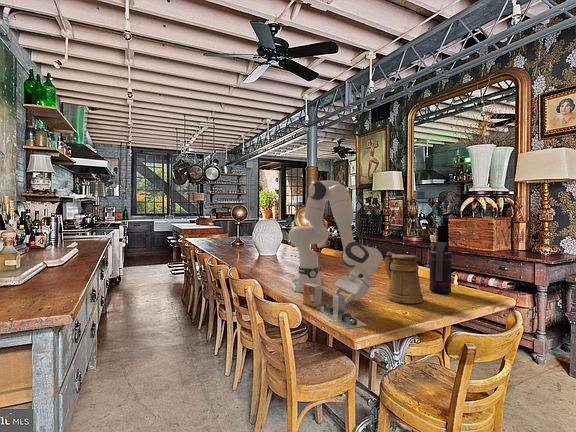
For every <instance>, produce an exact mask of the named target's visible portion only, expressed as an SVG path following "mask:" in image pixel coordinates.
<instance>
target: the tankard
mask: <svg viewBox="0 0 576 432" xmlns="http://www.w3.org/2000/svg"><path fill="white" fill-rule="evenodd" d="M417 259H418V257H417V255H413V254H411V255H410V254H409V255H408V254H398V253H393V252H391V251H387V253H386V255H385V258H384V269H385V271H386V274H387V276H388V278H389V287H388V289H387V291H386V292H387V294H386V295H387V296H386V298H387V299H388V300H389V301H392V302H394V303H399V304H400V303H401V304H421V303H422V302H424V296H423V293H422V290H421V289H422V288H421V283H420V277H419V269H420V267H419V263H418V262H417Z"/></svg>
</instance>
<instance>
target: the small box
mask: <svg viewBox="0 0 576 432" xmlns="http://www.w3.org/2000/svg"><path fill="white" fill-rule="evenodd" d="M322 287H323V285H322V284H321V285H318V284H314V283H306V284H304V292H302V293H303V297H302V298H303V300H302V301H303V302H302V304H304V305H307V306H309V307H313V308H316V307H320V306H322V296H323V295H322V291H323V289H322Z"/></svg>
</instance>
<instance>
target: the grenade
mask: <svg viewBox="0 0 576 432" xmlns="http://www.w3.org/2000/svg"><path fill="white" fill-rule="evenodd" d="M452 267H453V253H452V252H451V251H450V250H449V242H440V241H436V242H433V245H432V246H431V249H430V252H429V288H428V290H430V292H431V293H432V294H435V293H441V294H444V295H448V294H449V293H452V277H453V276H452V274H453V273H452V272H453V271H452V269H453V268H452Z"/></svg>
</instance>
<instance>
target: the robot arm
mask: <svg viewBox="0 0 576 432" xmlns="http://www.w3.org/2000/svg"><path fill="white" fill-rule="evenodd" d="M307 192H308V193H307V194H308V197H307V200H306V203H305V208H304V213H303V215H304V218H305V220H306V221H307V222H309V225H306V226H305V225H301V226H294V227H292V228H291V229H290V230H289V232H288V239H289V241H290V243H291V244H292V245H294V246H295V247H296V249H297V251H298V254H299V255H298V257H299V266H298V270H297V273H296V275H295V276H294V277H293V278H292V283H290V285H289V286H290V288H291V289H292V290H293V292H296V293H297V292H299V293H304V284H306V283H314V284H318V285H322V282H321V276H320V274H319V271H320V269H319V259H318V258H319V256H318V253H317V252H316V251H315V250H313V249H312V248H311V245H319V244H323V243H325V242H327V241H328V239H329V236H330V235H329V230H328V229H327V228H326V227H325V225H324V212H325V209H326V203H327V202H329V206H330V210H331V213H332V216H333V219H334V221H335V223H336V227H337V229H338V232H339V237H340V240H341V244H342V245H341V246H342V255H341V261H342V263H343V264H344V265H345V266H346V267H348V268H352V270H350V271H349V273H346V274H343V275H341V277H339V279H337V281H336V282H335V283H334V287H336V290H335V293H334V294H333V295H340V293H342V292H343V293H345V294H348V295H349V296H347V297H346V298H345V299H344V302H345V303H346V305H347V304H349V302H351V301H353V300H355V299H357V300H361V299H363V298H364V297H365V296H366V294H367V293H368V291H369V290H370V289H372V287H373V283H372V282H371V281H370V279H371V277H372V275H373V274H375V273H376V271H378V269H379V268H380V267H381V265H382V263H383V262H384V257H383V254H382V253H381V251H380V250H379V249H378V248H376V247H373V246H371V247H370V246H366V245H364V244H362V243H360V242H358V241H355V239H354V235H353V231H352V228H353V227H352V225H353V224H352V223H353V219H354V206H353V202H352V198H351V196H350V194H349V191H348V189H347V186H346V184H345V183H344V182H342V181H339V180H337V181H336V180H313V181H311V182H310V183H309V185H308V189H307ZM322 290H323V286H322Z"/></svg>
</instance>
